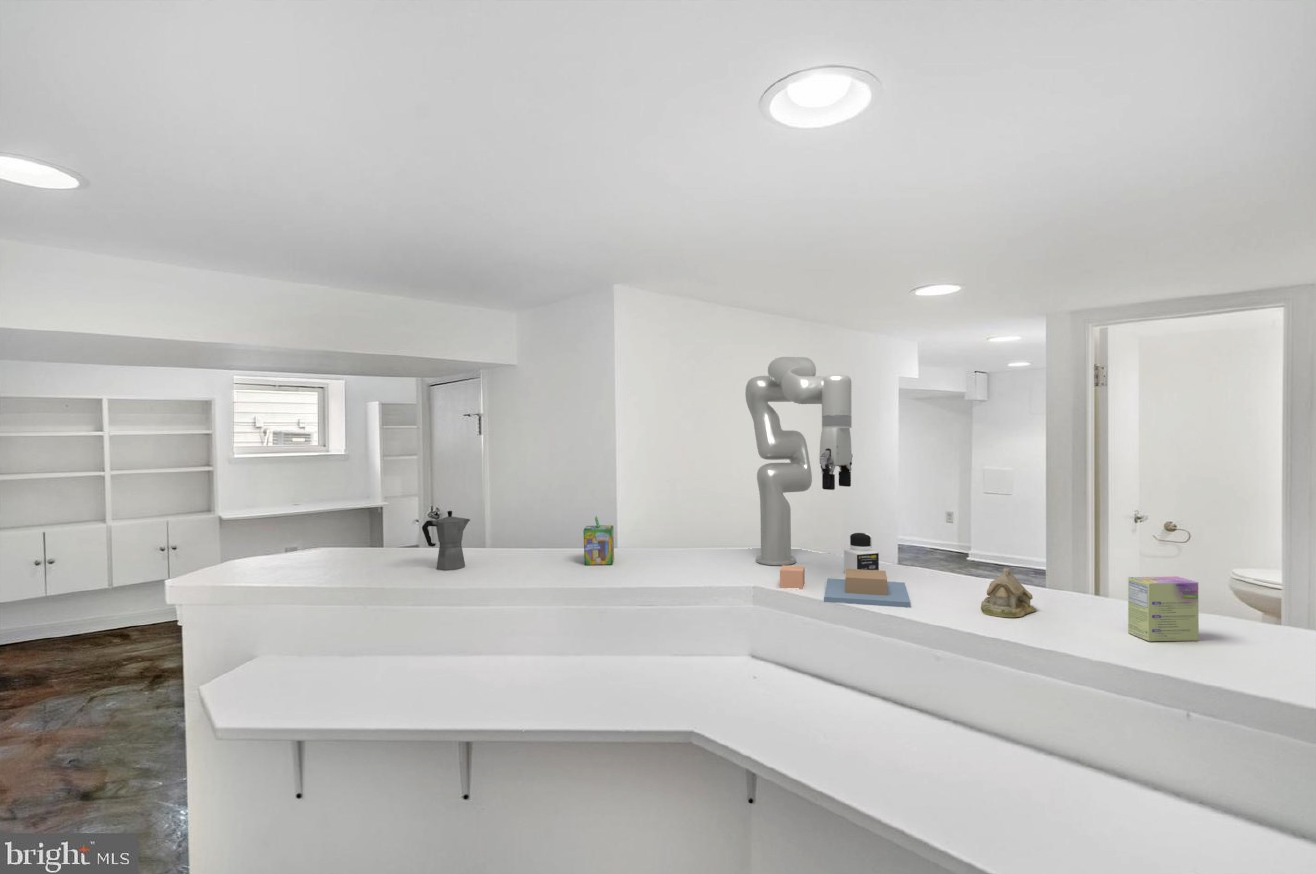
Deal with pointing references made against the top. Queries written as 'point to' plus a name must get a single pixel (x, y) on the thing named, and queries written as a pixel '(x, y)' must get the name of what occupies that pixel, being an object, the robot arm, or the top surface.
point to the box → (1163, 608)
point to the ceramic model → (1007, 597)
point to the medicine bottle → (861, 553)
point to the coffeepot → (448, 541)
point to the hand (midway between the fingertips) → (836, 487)
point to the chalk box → (598, 544)
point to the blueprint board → (888, 600)
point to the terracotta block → (792, 577)
